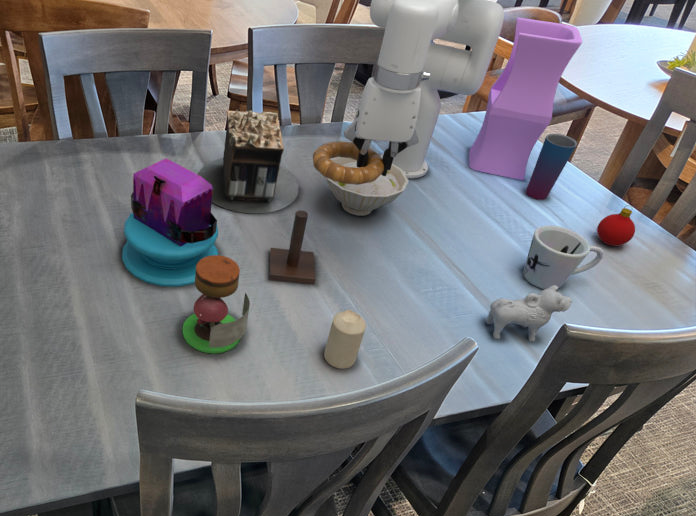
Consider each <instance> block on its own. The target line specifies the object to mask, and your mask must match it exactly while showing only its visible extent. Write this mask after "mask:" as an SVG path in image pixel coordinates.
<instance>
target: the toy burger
mask: <svg viewBox="0 0 696 516" xmlns="http://www.w3.org/2000/svg"><path fill="white" fill-rule="evenodd" d="M240 271H241V269H240V266H239V265H238V263H237V262H236V261H235V260H233V259H232V258H230V257H228V256H224V255H219V254H218V255H213V256H207V257H205V258H203V259H201V260H200V261H199V262H198V263H197V265H196V272H195V283H194V286H195V288H196V289H197V291H198V292H199V293H200V294H201V295H200V296H199V297H198V298H197V299H196V300H195V302H194V304H193V314H191V315H189V316H188V317H187V318H186V319H185V321H184V323H183V324H182V336H183V339H184V340H185V342H186V344H188V345H189V346H190V347H191V348H193V349H195V350H197V351H199V352H202V353H205V354H221V353H226V352H228V351H231V350H232V349H234V348H235V347H236V346H237V345H238V344H239V342H240V341H241V338H242V337H243V336H244V335H245V334H246V331H247V327H248V320H249V312H250V305H251V302H250V298H249V296H248V294H247V293H246V292H244V297H243V305H242V313H241V315H242V316H241V317H239V318H237V319H236V318H235V317H233V316H231V314H229V307H228V304H227V303H226V302H225V300H223V299H222V298H227V297H230V296H232V295H233V294H235V293H236V291H237V290H238V288H239V279H240Z"/></svg>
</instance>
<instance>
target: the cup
mask: <svg viewBox="0 0 696 516" xmlns="http://www.w3.org/2000/svg"><path fill="white" fill-rule="evenodd" d="M577 145H578V141H576V139H574V138H573V137H570V136H568V135H566V134H561V133H549V134H546V136H545V138H544V141H543V144H542V146H541V149H540V152H539V155H538V157H537V160H536V163H535V165H534V168H533V171H532V173H531V176H530V179H529V181H528V184H527V187H526V190H525V194H526V196H528V197H529V198H531V199H534V200H536V201H537V200H538V201H543V200H546V199H547V198H548V196H549V195H550V194H551V191H552V190H553V188H554V186H555V184H556V182H557V181H558V179H559V178H560V175H561V174H562V172H563V170H564V168H565V167H566V165H567V163H568V161H569V159H570V158H571V156H572V154H573V153H574V151H575V149H576V148H577Z"/></svg>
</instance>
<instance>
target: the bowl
mask: <svg viewBox="0 0 696 516" xmlns="http://www.w3.org/2000/svg"><path fill="white" fill-rule="evenodd" d="M330 160H332V161H333V162H334V163H337V164H339V165H342V166H345V167H354V168H359V167H357V160H354V159H351V158H344V157H336V158H331V159H330ZM325 179H326V182H327V184H328V187H329V189H330V191H331V193H332V194H333V195H334V197H335V198H336V200H338V201H339V202H340V203H341V206H342V209H343V210H344V211H345V212H347V213H349V214H351V215H354V216H367V215H370V214H371V213H372V212H373V210H377V209H380V208H382V207H383V206H386V205H387V204H390V203H391V202H393V201H395V200H396V199H397V198H398V197H399V196H400V195H401V194H403V192H404V191H405V190H406V187H407V185H408V184H409V182H410V181H409V178H407V177H406V175H405V174H404V172H403V170H402V169H400V168H399V167H397V166H395V165H394V164H392V166H391V169H390V170H387V174H386V176H383V175H382V174H381V175H380V176H379V177H378V178H377V179H376V180H375V181H373V182H369V183H365V184H360V185H354V184H344V183H339V182H336V181H334V180H331V179H328V178H326V177H325Z"/></svg>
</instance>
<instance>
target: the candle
mask: <svg viewBox="0 0 696 516" xmlns="http://www.w3.org/2000/svg"><path fill="white" fill-rule="evenodd" d="M366 329H367V323H366V321H365V319H364V318H363V317H362V316H361V315H360V314H359V313H357V312H355V311H353V310H351V309H345V310H343V311H339V312H337V313H335V314H334V315H333V318H332V321H331V325H330V329H329V332H328V337H327V339H326V345H325V348H324V352H323V355H324V360H325V361H326V362H327V364H328V365H330V366H332V367H334V368H337V369H341V370H342V369H343V370H344V369H349V368H351V367H352V366H354V364H355V362H356V360H357V358H358V354H359V351H360V348H361V344H362V341H363V338H364V335H365V331H366Z"/></svg>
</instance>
